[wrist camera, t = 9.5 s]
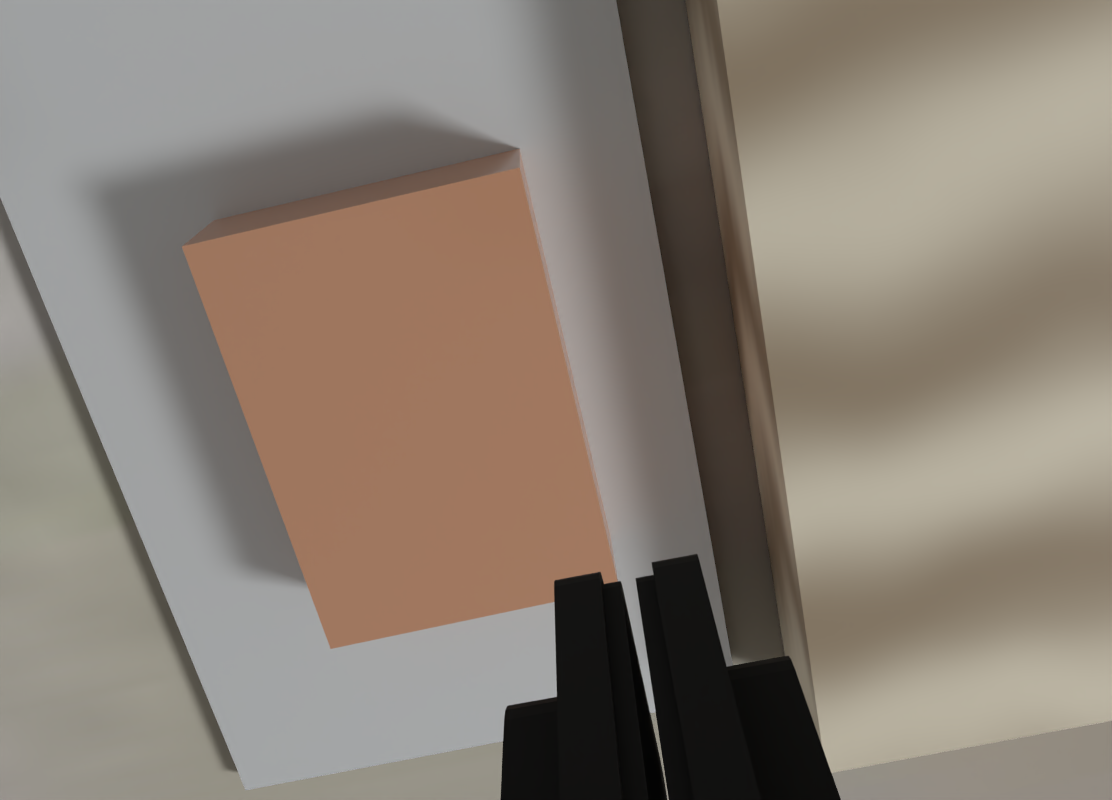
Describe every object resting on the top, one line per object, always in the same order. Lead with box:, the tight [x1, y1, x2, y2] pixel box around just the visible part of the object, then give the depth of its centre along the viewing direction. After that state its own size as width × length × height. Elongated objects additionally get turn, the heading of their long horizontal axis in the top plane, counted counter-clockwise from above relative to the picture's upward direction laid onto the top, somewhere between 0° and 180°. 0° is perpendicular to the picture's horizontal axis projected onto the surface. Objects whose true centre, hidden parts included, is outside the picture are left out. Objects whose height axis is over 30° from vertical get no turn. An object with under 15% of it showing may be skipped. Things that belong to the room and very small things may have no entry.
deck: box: [685, 0, 1112, 773], centre depth 23 cm, size 22×14×4 cm, turn 12°
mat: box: [0, 0, 733, 790], centre depth 25 cm, size 22×14×1 cm, turn 12°
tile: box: [182, 149, 618, 649], centre depth 24 cm, size 10×7×2 cm
